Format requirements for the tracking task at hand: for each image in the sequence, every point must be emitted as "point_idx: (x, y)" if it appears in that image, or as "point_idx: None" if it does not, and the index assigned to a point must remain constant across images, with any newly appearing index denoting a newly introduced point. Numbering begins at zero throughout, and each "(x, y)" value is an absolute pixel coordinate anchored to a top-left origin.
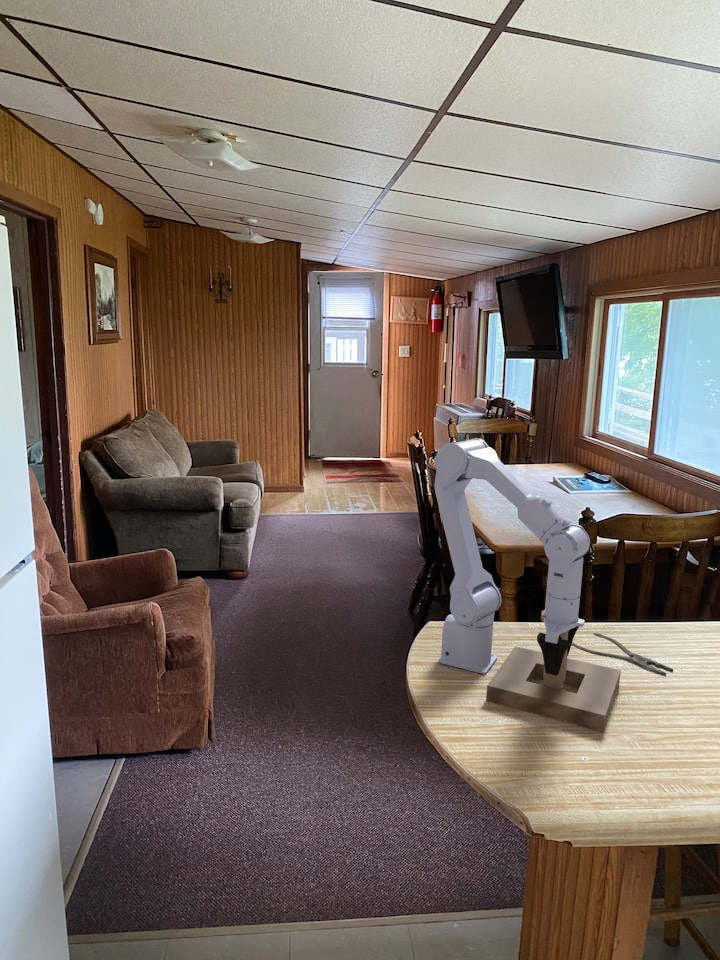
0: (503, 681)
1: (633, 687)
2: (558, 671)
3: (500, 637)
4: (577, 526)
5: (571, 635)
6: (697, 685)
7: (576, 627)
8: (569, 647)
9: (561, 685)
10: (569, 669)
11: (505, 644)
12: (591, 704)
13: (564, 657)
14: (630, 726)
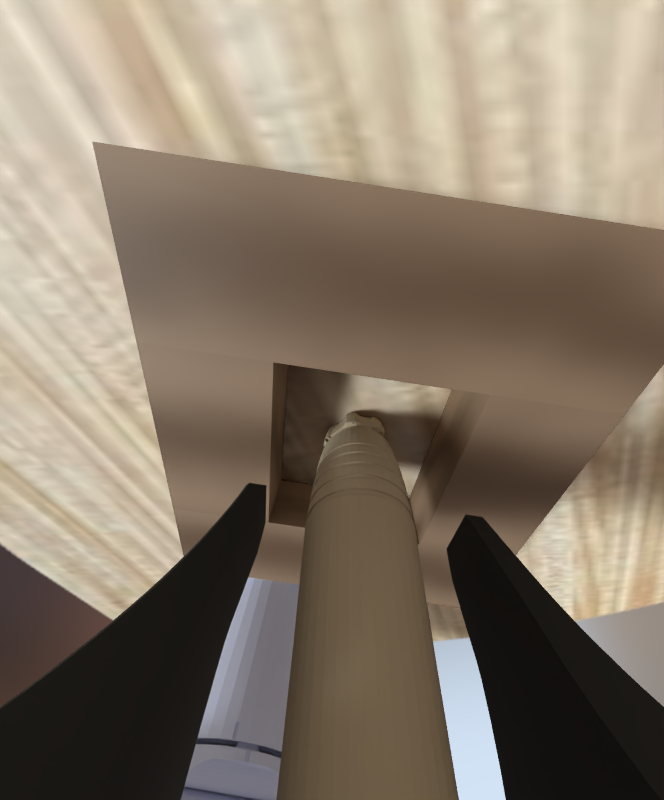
0: (440, 585)
1: (132, 68)
2: (499, 538)
3: (102, 552)
4: None
5: (193, 645)
6: None
7: (117, 793)
8: (241, 537)
9: (381, 438)
10: (259, 426)
11: (131, 542)
12: (606, 326)
13: (404, 558)
14: (600, 83)
